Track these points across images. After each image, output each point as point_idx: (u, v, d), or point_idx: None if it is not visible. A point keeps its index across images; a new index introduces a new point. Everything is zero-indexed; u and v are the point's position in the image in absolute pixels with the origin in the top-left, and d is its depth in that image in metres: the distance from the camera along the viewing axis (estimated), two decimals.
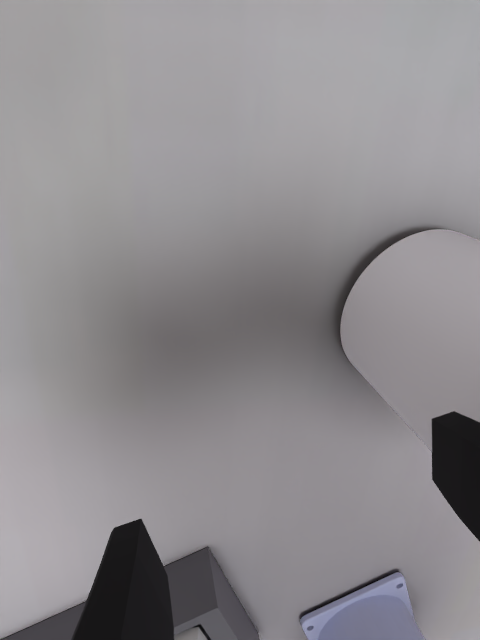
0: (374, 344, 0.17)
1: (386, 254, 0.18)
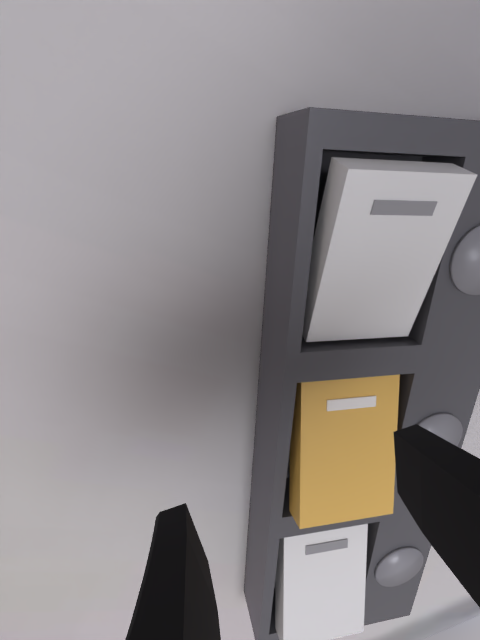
0: None
1: None
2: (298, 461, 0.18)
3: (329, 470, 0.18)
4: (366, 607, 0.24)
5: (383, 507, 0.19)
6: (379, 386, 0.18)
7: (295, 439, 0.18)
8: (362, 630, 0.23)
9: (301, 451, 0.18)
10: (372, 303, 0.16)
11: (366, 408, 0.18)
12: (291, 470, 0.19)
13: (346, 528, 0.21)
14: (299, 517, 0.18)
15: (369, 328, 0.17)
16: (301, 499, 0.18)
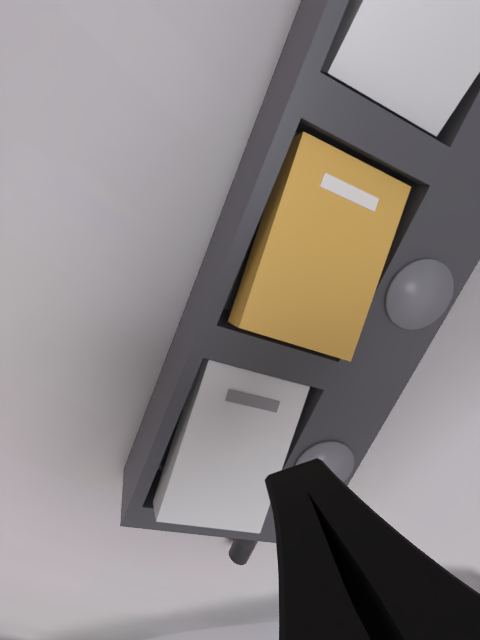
0: None
1: None
2: (265, 240, 0.14)
3: (297, 266, 0.14)
4: (268, 514, 0.19)
5: (342, 348, 0.15)
6: (385, 190, 0.15)
7: (268, 216, 0.14)
8: (259, 530, 0.18)
9: (274, 223, 0.14)
10: (420, 49, 0.13)
11: (363, 209, 0.15)
12: (248, 265, 0.15)
13: (282, 387, 0.17)
14: (243, 313, 0.14)
15: (402, 94, 0.14)
16: (253, 288, 0.14)
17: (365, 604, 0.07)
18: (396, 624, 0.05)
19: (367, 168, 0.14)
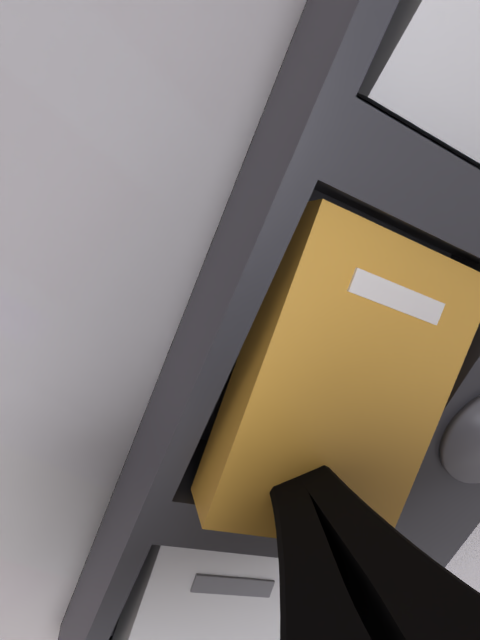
0: None
1: None
2: (250, 381, 0.08)
3: (305, 422, 0.08)
4: None
5: None
6: (456, 289, 0.09)
7: (259, 336, 0.08)
8: None
9: (266, 357, 0.08)
10: None
11: (419, 321, 0.09)
12: (224, 405, 0.09)
13: None
14: (210, 503, 0.08)
15: None
16: (228, 464, 0.08)
17: (366, 604, 0.07)
18: (397, 623, 0.05)
19: (429, 255, 0.08)
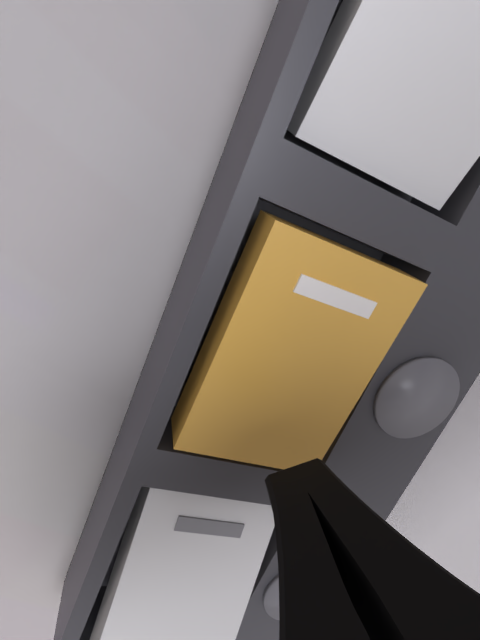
0: None
1: None
2: (213, 352, 0.11)
3: (254, 384, 0.11)
4: None
5: None
6: (389, 291, 0.11)
7: (223, 318, 0.11)
8: None
9: (224, 338, 0.10)
10: (419, 106, 0.10)
11: (353, 315, 0.11)
12: (197, 363, 0.12)
13: (247, 507, 0.14)
14: (180, 433, 0.11)
15: (395, 161, 0.10)
16: (193, 409, 0.11)
17: (365, 604, 0.07)
18: (396, 624, 0.05)
19: (366, 264, 0.10)
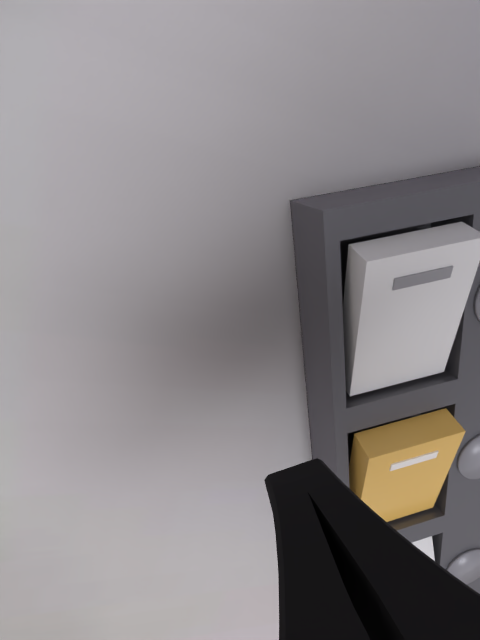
0: None
1: None
2: None
3: (384, 500, 0.20)
4: None
5: (425, 506, 0.22)
6: (443, 444, 0.18)
7: (356, 481, 0.20)
8: None
9: (362, 496, 0.20)
10: (405, 354, 0.17)
11: (426, 460, 0.19)
12: None
13: (412, 542, 0.23)
14: None
15: (406, 373, 0.18)
16: None
17: (365, 604, 0.07)
18: (396, 624, 0.05)
19: (425, 444, 0.18)
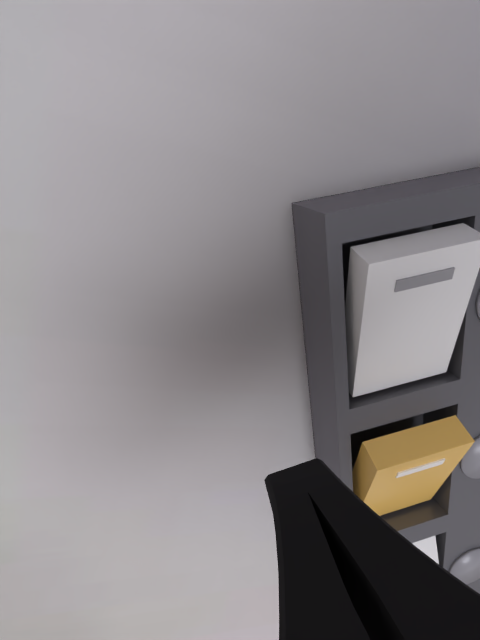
0: None
1: None
2: (360, 498, 0.20)
3: (386, 498, 0.21)
4: None
5: (424, 499, 0.23)
6: (451, 452, 0.18)
7: (360, 483, 0.20)
8: None
9: (365, 498, 0.20)
10: (408, 355, 0.18)
11: (432, 466, 0.19)
12: None
13: None
14: None
15: (408, 374, 0.18)
16: None
17: (365, 604, 0.07)
18: (396, 624, 0.05)
19: (433, 454, 0.18)
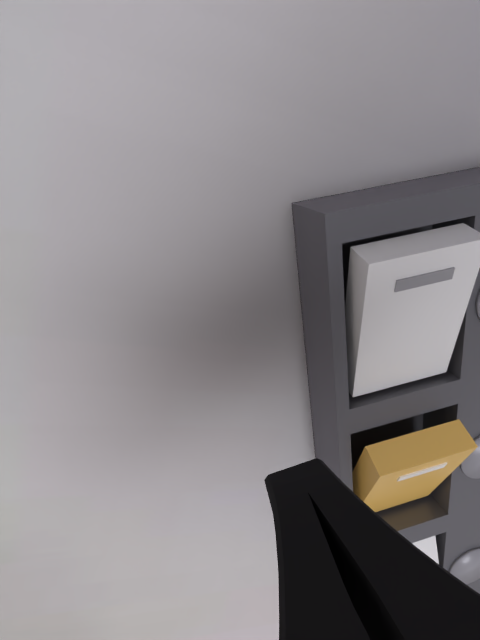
0: None
1: None
2: (360, 498, 0.20)
3: (385, 498, 0.21)
4: None
5: (421, 496, 0.23)
6: (453, 457, 0.18)
7: (360, 484, 0.20)
8: None
9: (365, 499, 0.20)
10: (408, 355, 0.18)
11: (434, 469, 0.19)
12: None
13: None
14: None
15: (408, 374, 0.18)
16: None
17: (365, 604, 0.07)
18: (396, 624, 0.05)
19: (436, 460, 0.18)
